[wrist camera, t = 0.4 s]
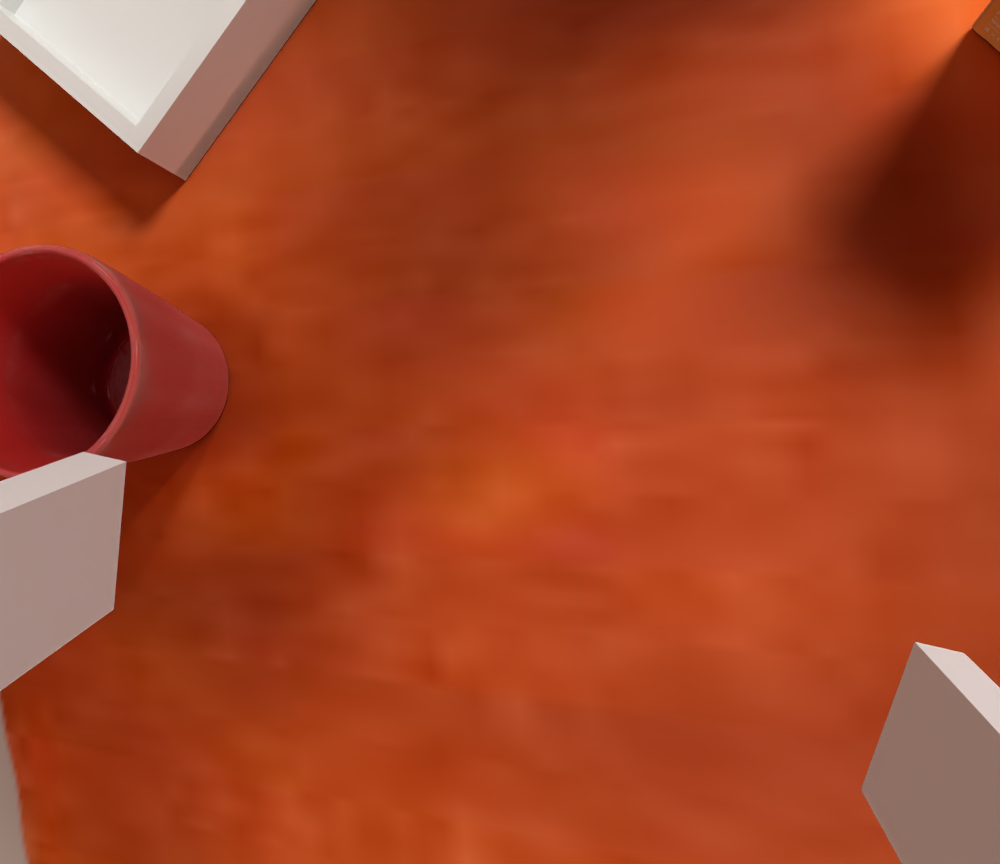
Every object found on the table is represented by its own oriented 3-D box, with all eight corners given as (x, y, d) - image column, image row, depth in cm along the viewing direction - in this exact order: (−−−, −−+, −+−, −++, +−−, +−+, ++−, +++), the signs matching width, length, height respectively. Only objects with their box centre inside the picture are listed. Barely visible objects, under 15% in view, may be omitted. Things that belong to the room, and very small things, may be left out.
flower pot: (100, 281, 43) (-58, 233, 33) (268, 298, 41) (151, 252, 31) (76, 460, 43) (-88, 463, 33) (243, 487, 41) (119, 498, 31)
